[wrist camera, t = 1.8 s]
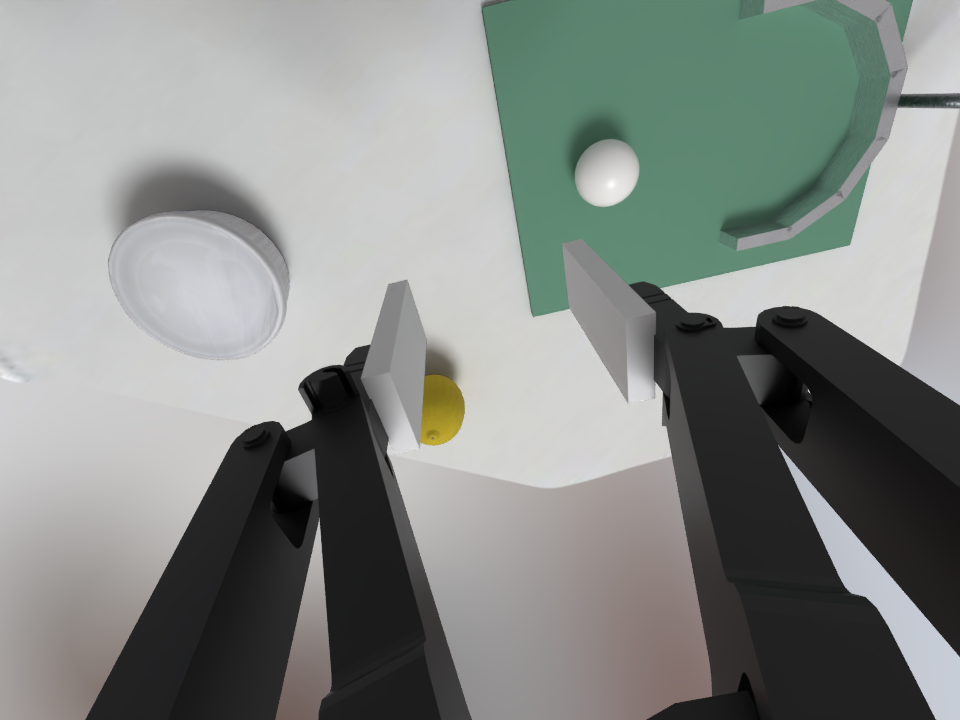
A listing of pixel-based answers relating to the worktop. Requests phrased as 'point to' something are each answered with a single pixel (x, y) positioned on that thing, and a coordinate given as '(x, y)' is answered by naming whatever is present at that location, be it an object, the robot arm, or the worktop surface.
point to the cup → (878, 95)
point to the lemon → (440, 410)
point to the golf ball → (606, 172)
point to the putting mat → (669, 130)
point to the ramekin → (201, 282)
